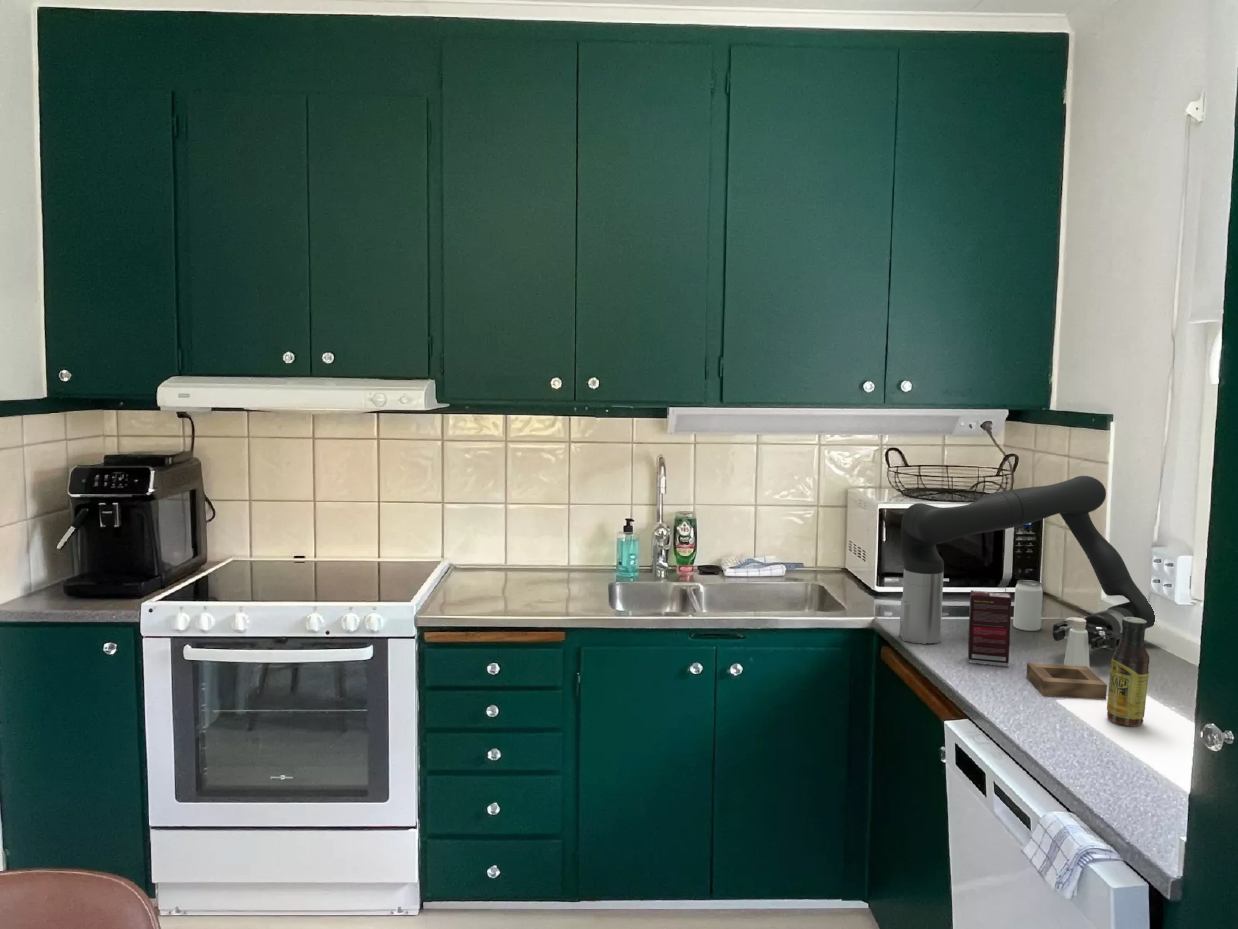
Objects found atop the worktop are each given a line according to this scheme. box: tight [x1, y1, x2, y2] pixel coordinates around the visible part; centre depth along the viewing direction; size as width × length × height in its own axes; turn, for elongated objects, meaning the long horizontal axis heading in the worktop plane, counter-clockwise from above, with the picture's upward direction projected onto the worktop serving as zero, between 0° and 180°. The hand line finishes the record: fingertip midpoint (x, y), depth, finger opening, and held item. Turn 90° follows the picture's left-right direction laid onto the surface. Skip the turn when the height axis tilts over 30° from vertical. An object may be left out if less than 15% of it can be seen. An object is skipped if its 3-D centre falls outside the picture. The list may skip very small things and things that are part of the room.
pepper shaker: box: [1063, 617, 1091, 670], centre depth 206 cm, size 5×5×11 cm
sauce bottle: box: [1106, 617, 1150, 727], centre depth 173 cm, size 6×6×20 cm
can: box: [1012, 579, 1044, 632], centre depth 238 cm, size 6×6×12 cm
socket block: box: [1025, 662, 1108, 700], centre depth 193 cm, size 12×12×3 cm
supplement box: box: [967, 589, 1012, 668], centre depth 209 cm, size 9×5×16 cm, turn 71°
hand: (1074, 640), depth 204 cm, fingers open, 7 cm apart
